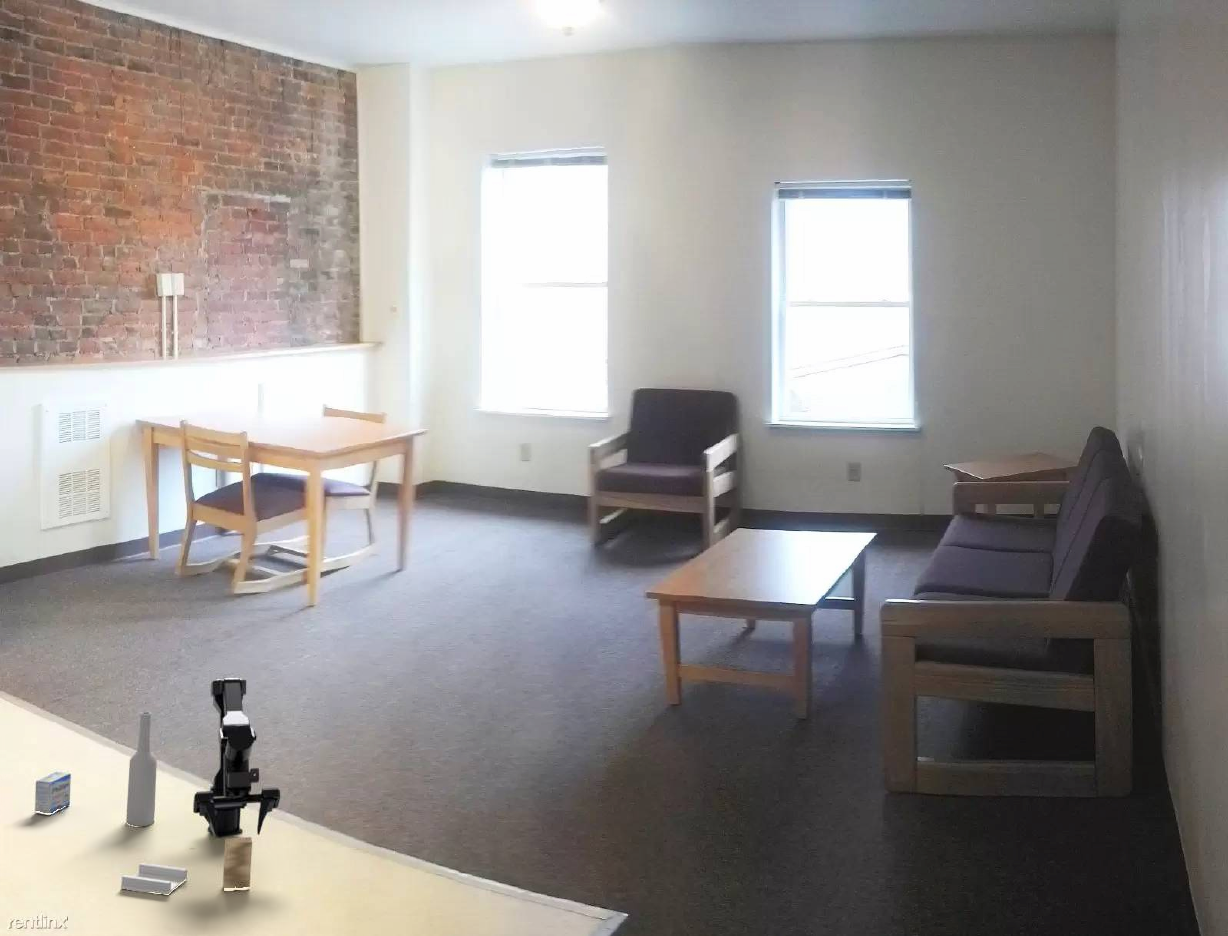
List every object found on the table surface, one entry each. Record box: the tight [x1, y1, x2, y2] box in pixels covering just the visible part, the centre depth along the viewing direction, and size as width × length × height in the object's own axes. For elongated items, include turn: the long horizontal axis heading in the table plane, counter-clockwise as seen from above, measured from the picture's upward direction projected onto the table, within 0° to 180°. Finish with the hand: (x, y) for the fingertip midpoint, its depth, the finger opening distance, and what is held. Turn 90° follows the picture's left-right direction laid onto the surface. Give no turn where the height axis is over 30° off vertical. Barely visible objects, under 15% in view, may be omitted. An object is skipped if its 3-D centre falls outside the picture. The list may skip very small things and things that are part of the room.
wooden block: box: [222, 836, 253, 888], centre depth 264 cm, size 6×3×11 cm, turn 112°
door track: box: [120, 862, 188, 894], centre depth 263 cm, size 11×8×3 cm
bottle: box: [125, 711, 158, 827], centre depth 297 cm, size 7×7×28 cm
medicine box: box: [34, 771, 72, 813], centre depth 301 cm, size 8×4×9 cm, turn 168°
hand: (237, 835), depth 267 cm, fingers open, 9 cm apart
